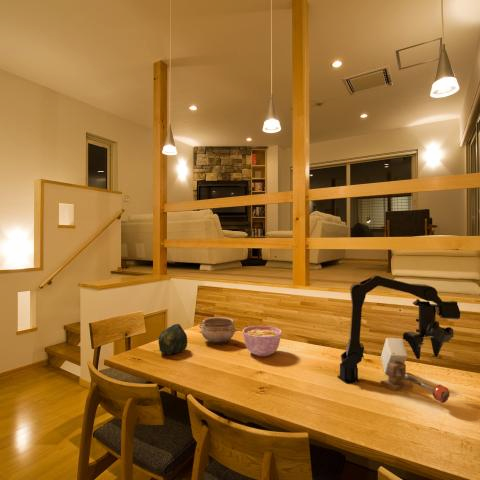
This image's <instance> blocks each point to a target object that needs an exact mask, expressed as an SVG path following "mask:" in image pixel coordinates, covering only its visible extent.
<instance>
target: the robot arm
mask: <svg viewBox="0 0 480 480" xmlns="http://www.w3.org/2000/svg"><path fill="white" fill-rule="evenodd" d="M377 287H383V288H387V289H391V290H395V291H398V292H403V293H407V294H410V295H411V296H414V297H417V299H415V301H412V305H414V306H415V307H418V318H416V319H415V322H417V323H418V328H415V331H405V332H403V333H402V340H403V341H404V340H405V342H407V344H408V345H409V347H410V349H411V350H412V352H413V354H414V356H415V358H416V360H420V359H421V351H422V350H421V349H422V348H421V347H423V345H425V344H424V342H425V341H424V339H430V342H431V347H432V352H433V356H434V357H435V358H437V357H439V354H440V352H441V350H442V347H443V345H444V344H445V343H449V342H450V340H452V338H454V337H455V335H454V332H455V331H454V329H453V328H452V327H451V326H448V327H441V326H440V322H439V321H438V320H437V316H438V317H439V318H440V319H443V320H445V319H446V320H459V319H461V311H460V307H459V304H458V301H455V300H450V301H449V300H442V298H441V297H440V296H439V294H438V291H437V289H436V287H434V286H431V285H428V284H423V283H409V282H404V281H401V280H397V279H393V278H388V277H385V276H381V275H378V274H374V275H372V276H370V277H369V278H367V279H364V280H362V281H360V282H354V283H352V284H351V285H350V288H349V293H350V300H351V315H350V328H349V329H350V330H349V337H348V338H349V339H348V341H347V344H346V348H345V351H344V352H342V353H341V354H340V360H341V363H339V375H337V378H338V379H340V380H341V381H343V382H344V383H346V384H351V383H359V382H360V381H361V380H360V379H359V368H358V364H359V363H361V362H362V361H363V360H362V359H364V358H365V356H364V351H365V346H364V344H363V343H362V342H361V339H360V338H361V329H362V328H361V325H362V313H363V312H362V311H363V305H364V303H365V300H366V296H367V294H368V293H371V292H372V290H374V289H375V288H377ZM418 298H419V299H418ZM420 299H422V300H420ZM430 302H432V303H430Z"/></svg>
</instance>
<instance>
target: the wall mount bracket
mask: <svg viewBox="0 0 480 480" xmlns="http://www.w3.org/2000/svg"><path fill="white" fill-rule="evenodd" d="M406 365H407V364H406V363H402V362H400V361H399V362H392V363H387V376H388V379H385V380H380V385H382V386H384V387H385V388H387V389H389V390H391V391H397V390H404V389H407V388H408V389H409V388H412V387H413V385H414V384H413V383H411V382H409V381H407V380H406V379H405V377H404V375H405V374H407V373H406V372H407V370H406V369H407V366H406Z"/></svg>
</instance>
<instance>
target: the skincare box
mask: <svg viewBox="0 0 480 480" xmlns="http://www.w3.org/2000/svg"><path fill="white" fill-rule="evenodd" d="M407 358H408V353H407V350H406V346H405V343H404V339H403V337H402V338H395V337H386V338H385V342H384V344H383V349H382V353H381V354H380V359H381V363H382V366H383V367H382V368H383V371H384V374H385V375H386V374H387V363H392V362H399V361H400V362H402V363H404V364H406V360H407Z"/></svg>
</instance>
